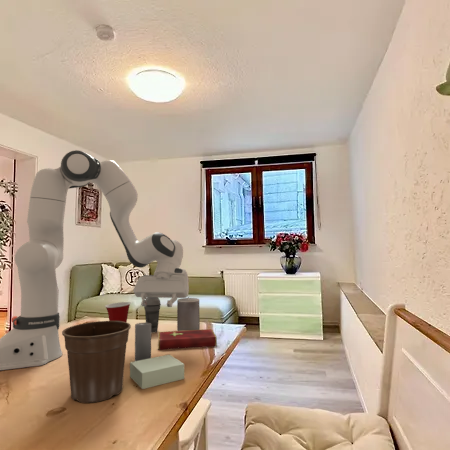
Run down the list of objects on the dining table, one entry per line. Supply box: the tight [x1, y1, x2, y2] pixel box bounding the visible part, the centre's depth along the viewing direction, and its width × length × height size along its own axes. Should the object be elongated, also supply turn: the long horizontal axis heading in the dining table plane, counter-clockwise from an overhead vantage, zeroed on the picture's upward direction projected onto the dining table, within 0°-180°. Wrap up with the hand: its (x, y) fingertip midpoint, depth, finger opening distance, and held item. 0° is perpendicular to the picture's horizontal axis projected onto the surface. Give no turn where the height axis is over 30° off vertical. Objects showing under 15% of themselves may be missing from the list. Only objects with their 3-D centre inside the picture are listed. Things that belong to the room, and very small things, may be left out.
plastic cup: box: [104, 301, 131, 323], centre depth 147 cm, size 11×11×12 cm
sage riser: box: [129, 354, 185, 390], centre depth 93 cm, size 12×10×4 cm
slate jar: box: [134, 322, 152, 361], centre depth 106 cm, size 5×5×12 cm
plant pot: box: [61, 320, 132, 404], centre depth 84 cm, size 16×16×16 cm
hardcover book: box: [157, 328, 218, 351], centre depth 127 cm, size 12×21×4 cm, turn 101°
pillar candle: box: [176, 296, 201, 331], centre depth 145 cm, size 10×10×15 cm
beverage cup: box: [143, 297, 161, 334], centre depth 145 cm, size 7×7×20 cm
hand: (156, 305), depth 117 cm, fingers open, 8 cm apart
